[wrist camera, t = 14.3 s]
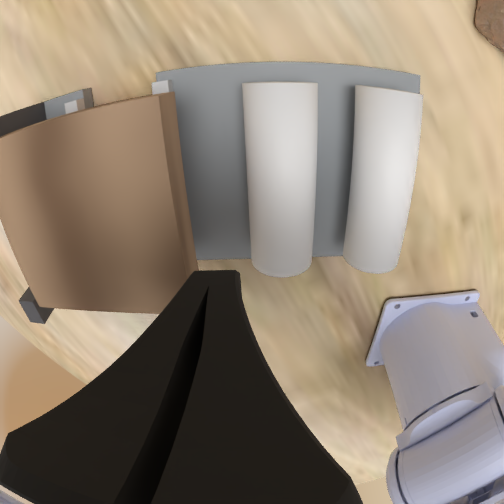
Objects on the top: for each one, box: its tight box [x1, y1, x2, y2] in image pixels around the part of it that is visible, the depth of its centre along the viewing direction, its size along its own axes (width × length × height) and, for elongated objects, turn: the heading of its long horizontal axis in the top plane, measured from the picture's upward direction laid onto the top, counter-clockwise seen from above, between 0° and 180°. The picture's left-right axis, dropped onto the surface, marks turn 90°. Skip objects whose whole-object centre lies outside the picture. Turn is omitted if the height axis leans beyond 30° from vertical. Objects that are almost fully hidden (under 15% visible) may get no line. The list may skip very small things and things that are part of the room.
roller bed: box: [0, 62, 423, 324], centre depth 14 cm, size 22×11×7 cm, turn 93°
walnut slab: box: [0, 91, 199, 314], centre depth 12 cm, size 9×9×2 cm
